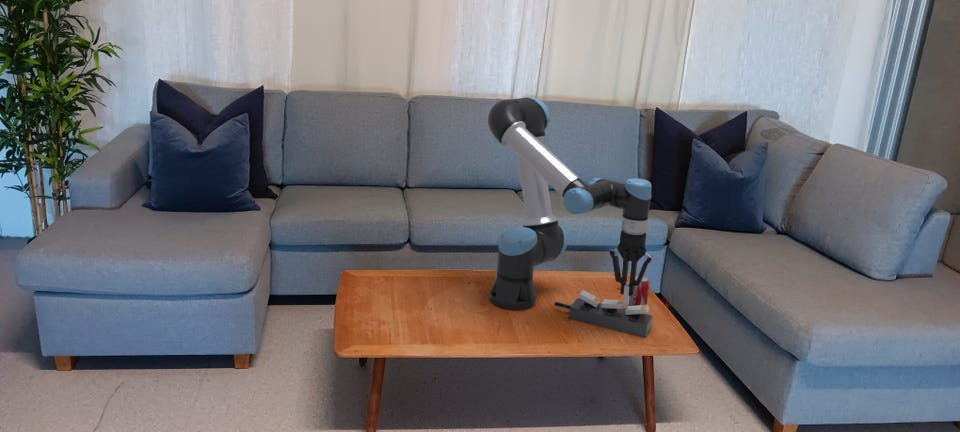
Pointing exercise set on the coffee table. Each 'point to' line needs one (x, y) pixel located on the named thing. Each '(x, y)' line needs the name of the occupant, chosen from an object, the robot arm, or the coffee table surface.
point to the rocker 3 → (637, 309)
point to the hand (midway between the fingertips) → (625, 304)
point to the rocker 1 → (589, 298)
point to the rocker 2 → (612, 304)
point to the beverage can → (640, 293)
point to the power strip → (609, 317)
